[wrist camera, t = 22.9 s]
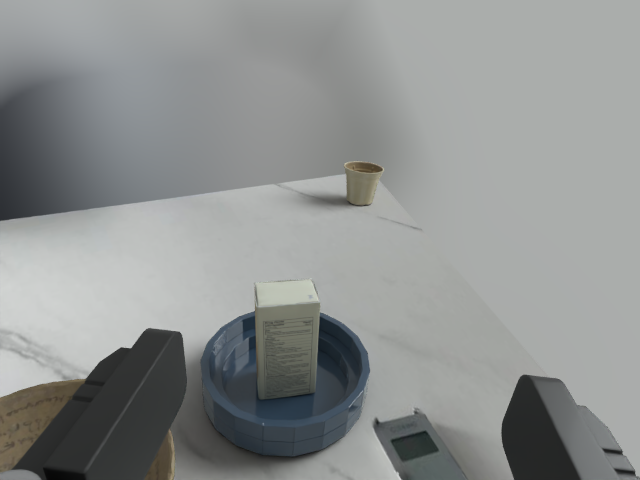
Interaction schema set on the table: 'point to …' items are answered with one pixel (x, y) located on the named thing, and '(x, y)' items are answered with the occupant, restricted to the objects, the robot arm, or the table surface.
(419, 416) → the table surface
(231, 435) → the serving bowl
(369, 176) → the flower pot
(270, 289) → the cosmetic box
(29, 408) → the bowl
